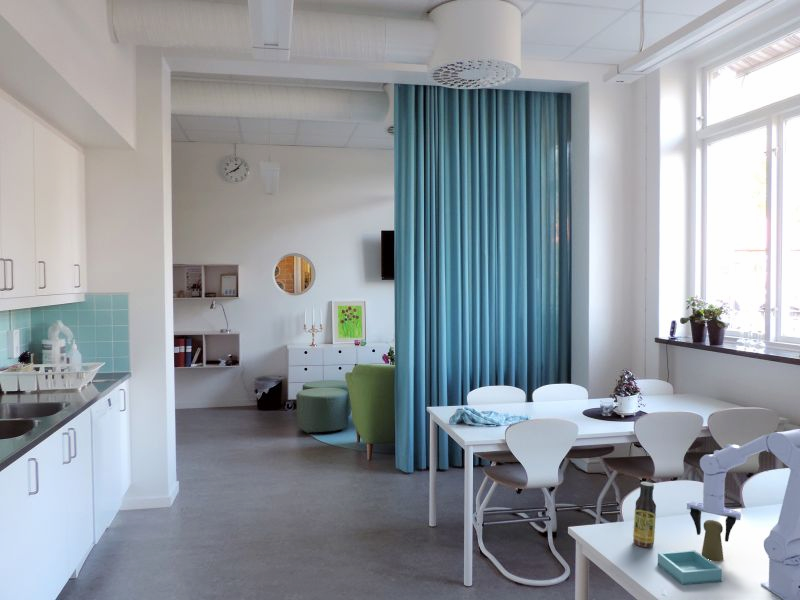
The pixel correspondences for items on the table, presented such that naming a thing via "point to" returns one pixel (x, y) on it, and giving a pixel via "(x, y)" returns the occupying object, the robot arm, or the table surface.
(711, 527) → the cork
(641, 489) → the sauce bottle
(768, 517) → the table surface
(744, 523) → the table surface
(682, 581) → the teal bin
